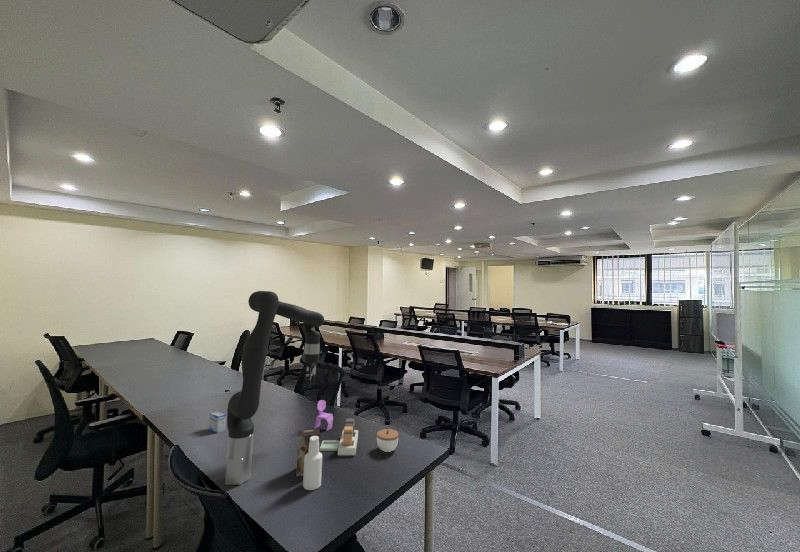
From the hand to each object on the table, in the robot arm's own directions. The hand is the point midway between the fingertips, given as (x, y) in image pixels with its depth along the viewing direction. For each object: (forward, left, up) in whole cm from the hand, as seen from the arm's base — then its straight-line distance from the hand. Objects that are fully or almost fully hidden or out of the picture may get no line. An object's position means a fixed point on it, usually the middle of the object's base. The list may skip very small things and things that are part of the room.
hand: (309, 385), depth 158 cm
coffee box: (-24, -6, -29) cm, 38 cm away
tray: (-3, -12, -29) cm, 31 cm away
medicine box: (+17, +51, -29) cm, 62 cm away
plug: (-7, -21, -28) cm, 35 cm away
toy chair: (+20, -5, -29) cm, 36 cm away
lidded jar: (-5, -40, -29) cm, 49 cm away
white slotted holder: (-2, -21, -29) cm, 35 cm away
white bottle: (-34, -10, -29) cm, 46 cm away
